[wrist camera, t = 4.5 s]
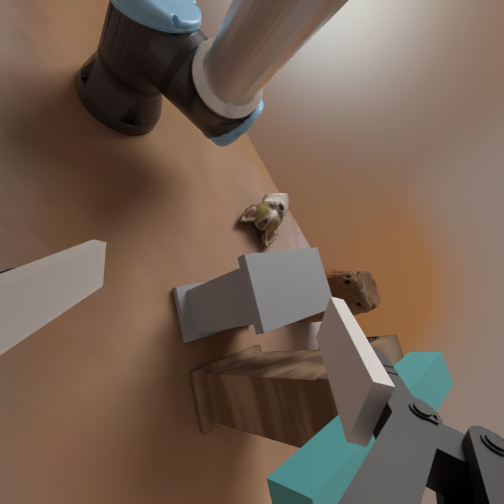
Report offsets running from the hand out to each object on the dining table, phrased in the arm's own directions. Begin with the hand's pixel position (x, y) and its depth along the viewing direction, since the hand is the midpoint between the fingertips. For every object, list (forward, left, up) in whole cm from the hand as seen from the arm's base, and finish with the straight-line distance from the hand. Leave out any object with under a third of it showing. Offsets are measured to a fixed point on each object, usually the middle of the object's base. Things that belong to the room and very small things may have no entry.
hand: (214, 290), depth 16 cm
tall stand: (-5, +26, -34) cm, 43 cm away
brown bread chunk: (-31, +36, -35) cm, 59 cm away
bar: (-2, +23, -4) cm, 24 cm away
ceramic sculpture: (-42, +16, -35) cm, 57 cm away
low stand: (-15, +15, -34) cm, 41 cm away
